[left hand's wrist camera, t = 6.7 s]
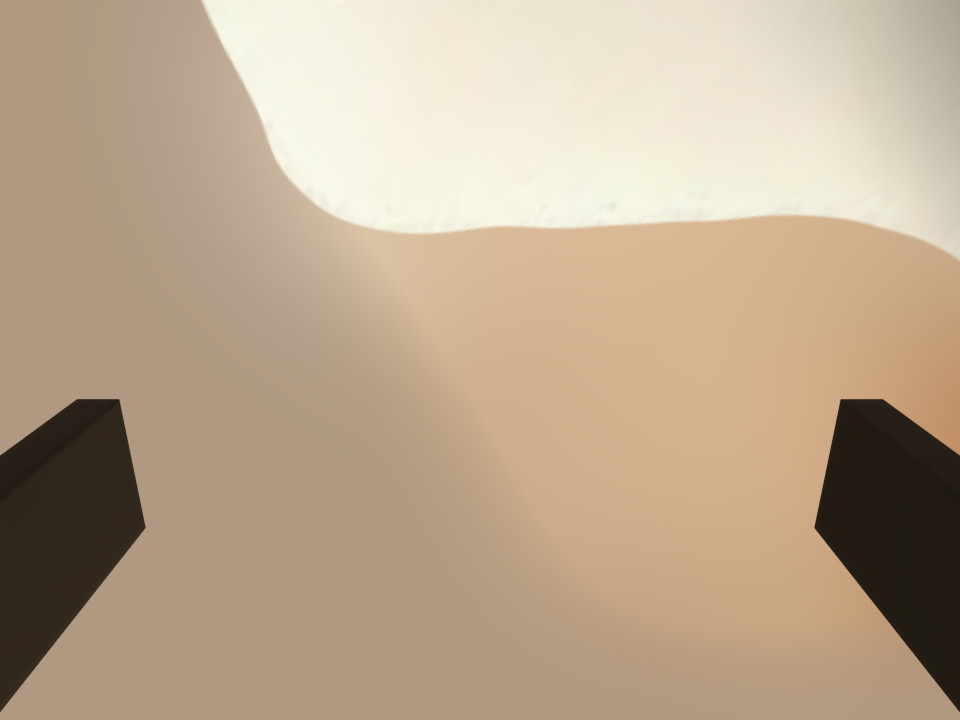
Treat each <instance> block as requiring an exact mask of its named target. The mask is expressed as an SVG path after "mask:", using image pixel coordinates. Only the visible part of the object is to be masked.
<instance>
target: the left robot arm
mask: <svg viewBox="0 0 960 720" xmlns="http://www.w3.org/2000/svg"><path fill="white" fill-rule="evenodd" d="M144 529H145V523H144V518H143V513H142V508H141V503H140V498H139V493H138V488H137V483H136V479H135V474H134V469H133V464H132V459H131V454H130V449H129V445H128V440H127V435H126V430H125V425H124V420H123V415H122V410H121V405H120V401H119V399H77V400H75V401H74V402H73V403H71V404H70V405H69V406H67V407H66V408H65V409H63V410H62V411H60V412H59V413H58V414H56V415H55V416H54V417H52V418H51V419H50V420H48V421H47V422H45V423H44V424H43V425H41V426H40V427H39V428H37V429H36V430H35V431H33V432H32V433H30V434H29V435H28V436H26V437H25V438H24V439H22V440H21V441H20V442H18V443H17V444H15V445H14V446H13V447H11V448H10V449H9V450H7V451H6V452H5V453H3V454H2V455H0V712H1V710H2V709H3V708H4V707H5V705H6V704H7V703H8V702H9V700H10V699H11V698H12V696H13V695H14V694H15V693H16V691H17V690H18V689H19V688H20V686H21V685H22V684H23V683H24V681H25V680H26V679H27V677H28V676H29V675H30V674H31V672H32V671H33V670H34V669H35V667H36V666H37V665H38V664H39V662H40V661H41V660H42V658H43V657H44V656H45V655H46V653H47V652H48V651H49V650H50V648H51V647H52V646H53V645H54V643H55V642H56V641H57V639H58V638H59V637H60V636H61V634H62V633H63V632H64V631H65V629H66V628H67V627H68V625H69V624H70V623H71V622H72V620H73V619H74V618H75V617H76V615H77V614H78V613H79V612H80V610H81V609H82V608H83V606H84V605H85V604H86V603H87V601H88V600H89V599H90V598H91V596H92V595H93V594H94V593H95V591H96V590H97V589H98V587H99V586H100V585H101V584H102V582H103V581H104V580H105V579H106V577H107V576H108V575H109V574H110V572H111V571H112V570H113V569H114V567H115V566H116V565H117V563H118V562H119V561H120V560H121V558H122V557H123V556H124V555H125V553H126V552H127V551H128V550H129V548H130V547H131V546H132V544H133V543H134V542H135V541H136V539H137V538H138V537H139V536H140V534H141V533H142V532H143V530H144ZM815 529H816V530H817V532H818V533H819V534H820V536H821V537H822V538H823V539H824V541H825V542H826V543H827V544H828V546H829V547H830V548H831V549H832V551H833V552H834V553H835V555H836V556H837V557H838V558H839V560H840V561H841V562H842V563H843V565H844V566H845V567H846V569H847V570H848V571H849V572H850V574H851V575H852V576H853V577H854V579H855V580H856V581H857V582H858V584H859V585H860V586H861V587H862V589H863V590H864V591H865V593H866V594H867V595H868V596H869V598H870V599H871V600H872V601H873V603H874V604H875V605H876V607H877V608H878V609H879V610H880V612H881V613H882V614H883V615H884V617H885V618H886V619H887V620H888V622H889V623H890V624H891V626H892V627H893V628H894V629H895V631H896V632H897V633H898V634H899V636H900V637H901V638H902V639H903V641H904V642H905V643H906V645H907V646H908V647H909V648H910V650H911V651H912V652H913V653H914V655H915V656H916V657H917V658H918V660H919V661H920V662H921V664H922V665H923V666H924V667H925V669H926V670H927V671H928V672H929V674H930V675H931V676H932V677H933V679H934V680H935V681H936V683H937V684H938V685H939V686H940V688H941V689H942V690H943V691H944V693H945V694H946V695H947V697H948V698H949V699H950V700H951V701H952V703H953V704H954V705H955V707H956V708H957V709H958V710H959V712H960V455H958V454H957V453H956V452H954V451H953V450H951V449H950V448H949V447H947V446H946V445H945V444H943V443H942V442H940V441H939V440H938V439H936V438H935V437H934V436H932V435H931V434H929V433H928V432H927V431H925V430H924V429H923V428H921V427H920V426H919V425H917V424H916V423H914V422H913V421H912V420H910V419H909V418H908V417H906V416H905V415H904V414H902V413H901V412H900V411H898V410H897V409H895V408H894V407H893V406H891V405H890V404H889V403H887V402H886V401H885V400H883V399H841V401H840V405H839V410H838V415H837V420H836V425H835V430H834V435H833V440H832V444H831V449H830V454H829V459H828V464H827V469H826V474H825V479H824V484H823V488H822V493H821V498H820V503H819V508H818V513H817V518H816V523H815Z"/></svg>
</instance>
